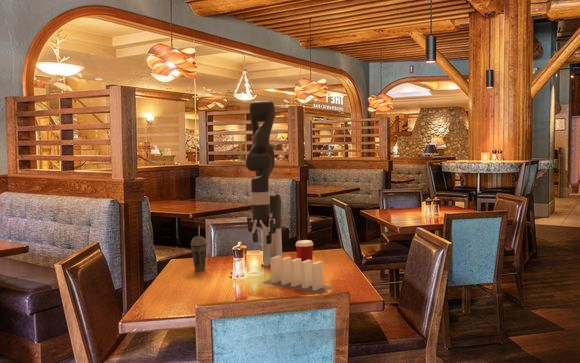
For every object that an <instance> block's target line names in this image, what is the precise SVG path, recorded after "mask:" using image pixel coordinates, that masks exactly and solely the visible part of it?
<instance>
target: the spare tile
mask: <svg viewBox="0 0 580 363" xmlns="http://www.w3.org/2000/svg"><path fill="white" fill-rule="evenodd" d="M290 265H291V286H294V287H295V286H297V285H300V284H302V283H301V258H297V257H296V258H294V259H291V261H290Z"/></svg>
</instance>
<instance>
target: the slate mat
mask: <svg viewBox="0 0 580 363" xmlns="http://www.w3.org/2000/svg"><path fill="white" fill-rule="evenodd" d="M261 284H264V285H270V286H275V287H281V288H287V289H291V290H298V291H303V292H307V293H314V294H322V293H323V292H326V291H328V290H330V289H332V288H334V286H332V285H331V286H330V285H325V284H323V288H320V289H318V290H312V286H310V287H307V288H302V284H300V285H297V286H295V287H294V286H291V282H290V283H288V284H285V285H282V284H281V281H279V282H276V283H271V279H268V280H266V281H262V282H261Z"/></svg>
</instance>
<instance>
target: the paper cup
mask: <svg viewBox="0 0 580 363" xmlns="http://www.w3.org/2000/svg"><path fill="white" fill-rule="evenodd" d="M295 247H296V248H295V249H296V259H297V258H301V262H303V261H306V260H312V261H313V255H314V253H313V252H314V251H313V250H314V242H313V241H312V240H310V239H309V240H308V239H304V240H297V241H296V242H295Z"/></svg>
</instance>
